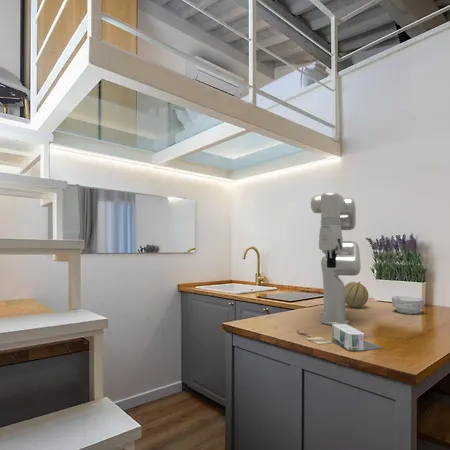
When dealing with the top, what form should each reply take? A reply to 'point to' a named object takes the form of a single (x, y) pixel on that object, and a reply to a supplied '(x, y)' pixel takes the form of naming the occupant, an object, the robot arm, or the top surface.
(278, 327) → the top surface
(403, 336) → the top surface
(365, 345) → the mat
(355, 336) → the syrup box
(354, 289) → the cantaloupe
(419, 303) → the paper bowls
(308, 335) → the turner
